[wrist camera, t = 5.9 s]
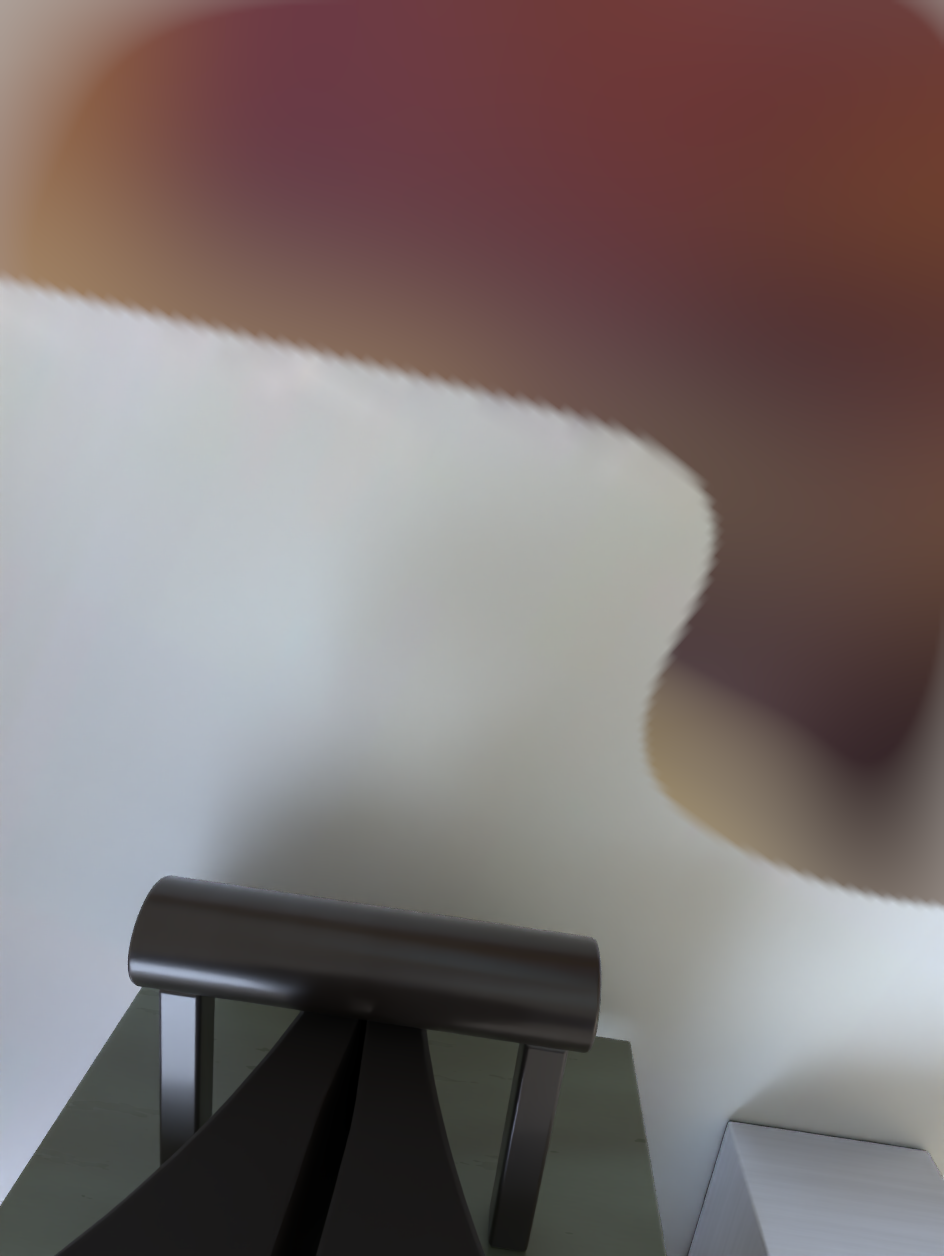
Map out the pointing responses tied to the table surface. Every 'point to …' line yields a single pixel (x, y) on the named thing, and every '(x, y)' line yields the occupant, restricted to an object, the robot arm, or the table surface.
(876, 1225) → the shiny metal block
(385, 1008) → the drawer
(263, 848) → the table surface
